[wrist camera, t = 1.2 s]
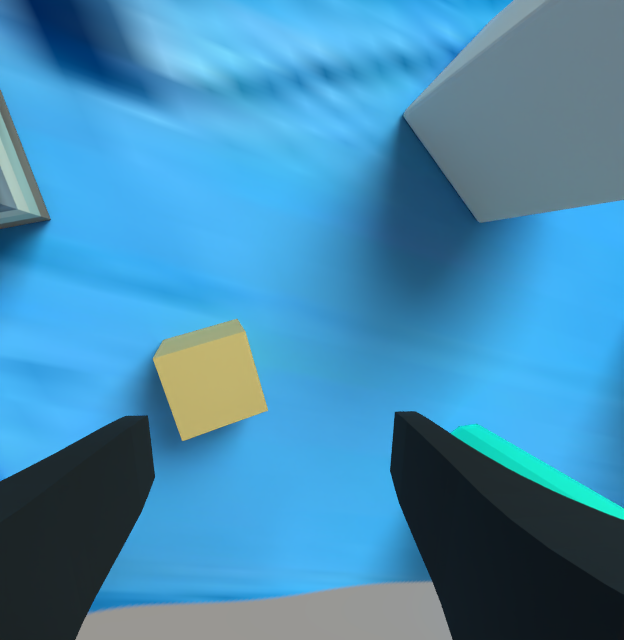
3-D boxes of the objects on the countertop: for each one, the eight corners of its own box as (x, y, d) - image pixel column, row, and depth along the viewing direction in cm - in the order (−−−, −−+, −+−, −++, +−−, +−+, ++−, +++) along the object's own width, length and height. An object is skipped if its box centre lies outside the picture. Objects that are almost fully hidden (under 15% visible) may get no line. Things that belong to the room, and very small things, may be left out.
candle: (437, 512, 26) (621, 707, 14) (424, 441, 24) (615, 593, 13) (501, 480, 27) (715, 634, 16) (492, 412, 26) (718, 525, 14)
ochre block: (186, 406, 19) (182, 441, 16) (163, 339, 18) (152, 358, 15) (256, 383, 20) (268, 410, 17) (237, 318, 19) (245, 331, 16)
